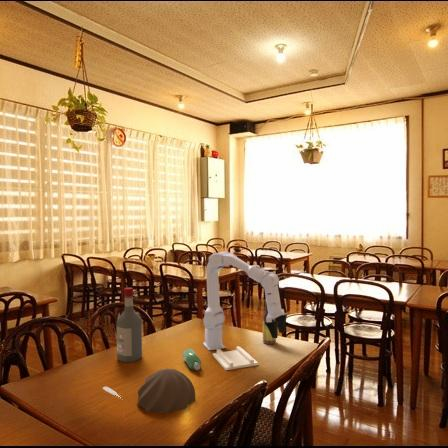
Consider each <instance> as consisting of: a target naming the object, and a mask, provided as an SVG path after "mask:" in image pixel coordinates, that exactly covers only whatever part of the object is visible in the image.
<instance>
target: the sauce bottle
mask: <svg viewBox="0 0 448 448" xmlns="http://www.w3.org/2000/svg"><path fill="white" fill-rule="evenodd" d="M264 304H265V308H264V312H263V313H262V342H263V344H265V345H273V344H275V343H276V341H277V338H272V336H271V334H270V331H269V329H268V327H267V326H266V325H265V321H266V317H267V315H268V309H267V302H266V299H265V301H264ZM274 320H275V319H274Z"/></svg>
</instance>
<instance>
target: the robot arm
mask: <svg viewBox="0 0 448 448" xmlns="http://www.w3.org/2000/svg"><path fill="white" fill-rule="evenodd" d="M227 266H233V267H235V268H236V269H239V270H241V271H243V272H245V273H246V274H247V276H248V277H249V278H250V279H252V280H253V281H256V283H257V282H258V283H259V284H260V285H261V287H262V288H263V289H264V295H265V296H264V297H265V300H266V302H267V309H268V315H267V317H266V321H265V325H266V326H267V327H268V329H269V331H270V334H271V336H272V338H276V339H278V338H279V337H278V336H279V334H284V333H285V330H286V322H287V319H288V315H287V314H286V313H285V309H284V308H282V304H281V297H280V291H279V286H278V285H279V283H280V278H279V276H278V274H276V273H275V272H270V271H269V270H265V269H263V268H262V267H261V266H260V265H258V264H253V265H250V264H249V263H247V262H245V261H244V260H242V259H240V258H239V257H237V256H236V255H235V254H234V253H233V252H229V251H228V250H224V251H221V252H214V253H212V254H211V255H210V256H209V257H208V263H207V265H206V267H205V275H206V292H207V294H206V295H207V296H206V297H207V308H206V310H205V311H204V317H203V323H202V324H203V326H204V327H205V329H204V342H202V344H203V345H204V347H205V348H206V349H207V350H208V351H213V350H217V349H221V350H222V349H226V346H225V345H224V344H223V324H224V323H225V320H226V316H225V314H224V311H223V310H224V308H222V306H221V304H220V303H221V302H220V301H221V300H220V286H219V284H220V283H219V272H220V271H221V270H222V269H223V268H224V267H227ZM274 319H275V320H274ZM278 332H279V334H278Z"/></svg>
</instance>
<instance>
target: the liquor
mask: <svg viewBox="0 0 448 448" xmlns="http://www.w3.org/2000/svg"><path fill="white" fill-rule="evenodd" d="M123 291H124V292H123V296H124V310H123V311H122V313H121V314H120V315H119V316H118V318H117V319H116V323H115V326H116V358H117V360H118V361H120V362H123V363H134V362H136V361H138V360H140V359H142V356H143V328H142V327H143V326H142V325H143V324H142V323H143V321H142V320H143V319H142V317H141V315H139V314H138V313H137V312H136V311H135V309H134V299H133V298H134V288H133V287H124V288H123Z"/></svg>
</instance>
